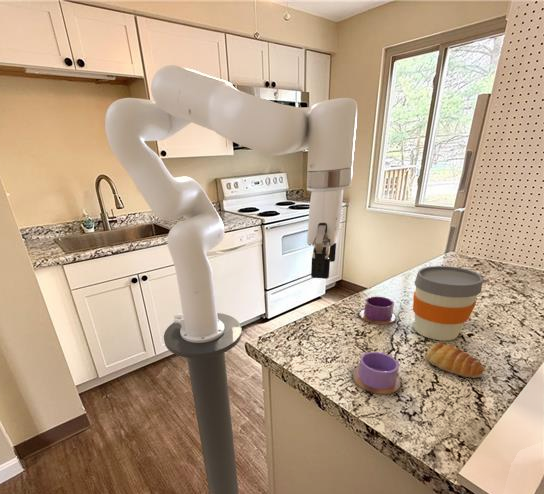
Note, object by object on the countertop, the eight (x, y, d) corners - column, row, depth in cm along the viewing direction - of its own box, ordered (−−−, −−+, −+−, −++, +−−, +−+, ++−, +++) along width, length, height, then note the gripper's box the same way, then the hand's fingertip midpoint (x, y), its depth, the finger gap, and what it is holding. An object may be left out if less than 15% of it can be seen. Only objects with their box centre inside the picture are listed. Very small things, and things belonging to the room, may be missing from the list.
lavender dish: (357, 385, 63) (359, 368, 61) (359, 365, 68) (361, 349, 66) (396, 393, 60) (399, 375, 58) (394, 371, 65) (398, 355, 63)
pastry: (488, 370, 63) (493, 355, 61) (473, 385, 60) (478, 369, 58) (436, 350, 70) (440, 336, 69) (421, 362, 67) (424, 348, 66)
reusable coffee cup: (398, 318, 84) (407, 266, 78) (450, 318, 82) (464, 264, 75) (418, 344, 73) (431, 286, 67) (479, 345, 71) (498, 284, 64)
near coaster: (351, 388, 63) (351, 386, 63) (354, 363, 70) (354, 361, 69) (401, 399, 59) (401, 397, 59) (399, 371, 66) (399, 369, 66)
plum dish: (363, 319, 85) (365, 305, 83) (364, 308, 90) (366, 295, 88) (391, 322, 82) (394, 308, 80) (391, 311, 87) (393, 297, 85)
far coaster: (358, 321, 85) (358, 320, 85) (360, 307, 92) (360, 306, 92) (395, 326, 81) (396, 325, 81) (394, 311, 88) (394, 310, 88)
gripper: (315, 176, 64) (312, 255, 72) (297, 187, 51) (295, 283, 58) (354, 173, 61) (347, 256, 68) (347, 185, 47) (338, 287, 55)
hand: (323, 268), depth 63 cm, fingers open, 9 cm apart
